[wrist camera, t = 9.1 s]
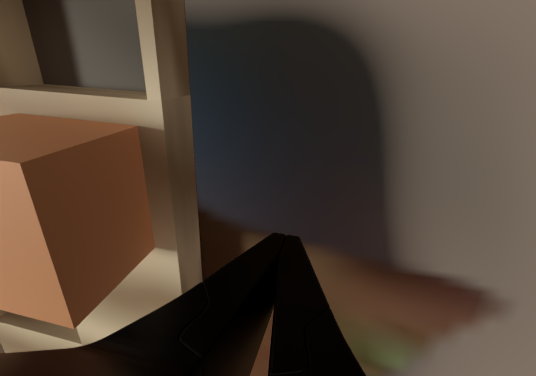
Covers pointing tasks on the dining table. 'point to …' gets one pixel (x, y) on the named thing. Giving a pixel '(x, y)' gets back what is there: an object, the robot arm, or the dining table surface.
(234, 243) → the dining table surface
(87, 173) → the orange block
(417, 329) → the dining table surface
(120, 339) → the robot arm
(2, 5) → the trap board
